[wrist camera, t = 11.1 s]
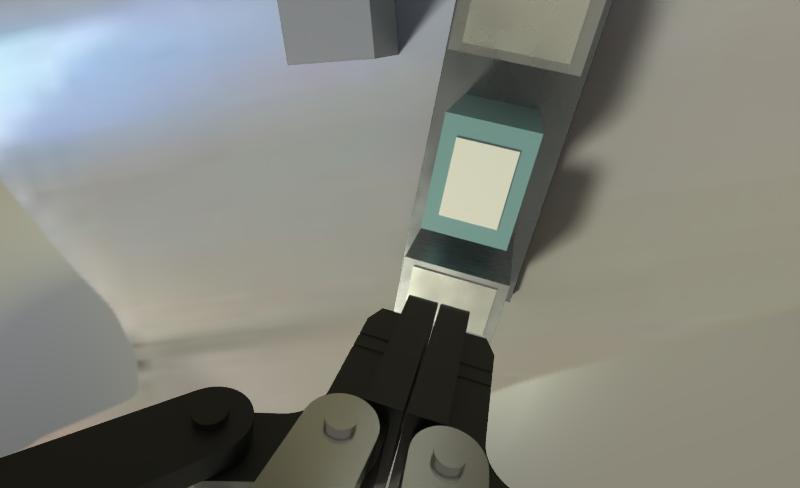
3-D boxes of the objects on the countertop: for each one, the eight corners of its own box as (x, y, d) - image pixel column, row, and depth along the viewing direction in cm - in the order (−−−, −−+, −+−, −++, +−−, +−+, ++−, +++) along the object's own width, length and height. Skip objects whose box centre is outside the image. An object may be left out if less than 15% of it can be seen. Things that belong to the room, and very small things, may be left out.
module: (465, 93, 27) (445, 112, 21) (540, 110, 27) (543, 134, 20) (443, 187, 30) (420, 228, 24) (511, 204, 29) (506, 251, 23)
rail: (467, -48, 25) (447, -73, 19) (618, -21, 24) (647, -39, 18) (403, 265, 34) (375, 316, 28) (510, 296, 33) (505, 356, 27)
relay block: (312, -30, 28) (270, -42, 23) (392, -41, 26) (364, -55, 22) (324, 59, 30) (287, 65, 25) (399, 54, 28) (374, 58, 24)
